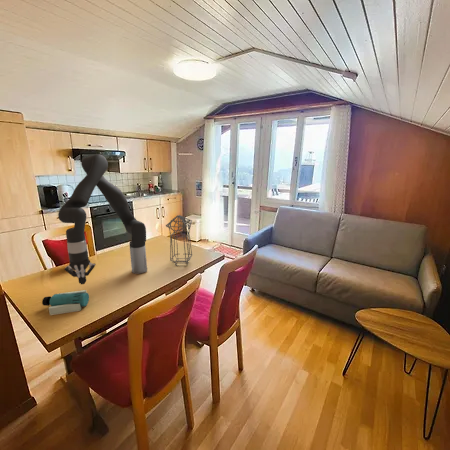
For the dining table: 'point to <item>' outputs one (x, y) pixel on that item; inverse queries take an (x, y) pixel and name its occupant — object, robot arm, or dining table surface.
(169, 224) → the geometric lantern
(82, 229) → the robot arm
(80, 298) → the beverage bottle
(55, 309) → the cradle
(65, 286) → the dining table surface
